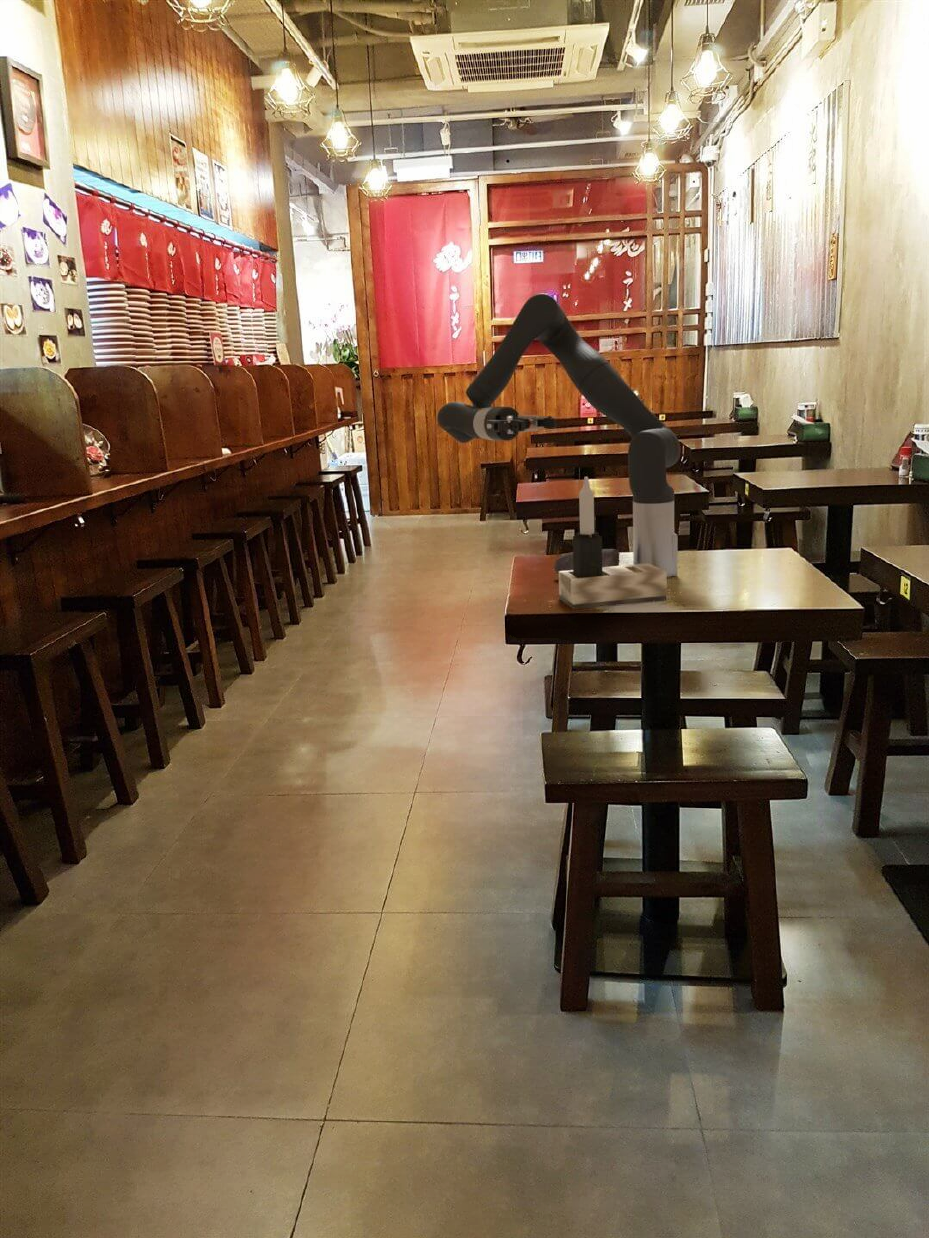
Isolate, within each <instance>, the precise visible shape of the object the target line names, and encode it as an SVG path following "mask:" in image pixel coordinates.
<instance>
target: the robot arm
mask: <svg viewBox="0 0 929 1238" xmlns="http://www.w3.org/2000/svg"><path fill="white" fill-rule="evenodd" d="M535 340H537V341H538V342H539V343H540V344H542V345H543V347H545V348H546V349H547V351H549V352H550V353H552V355H553V356H554V357H555V358H556V359H557V360H558V361H559V363H560V364H561V366H562V368H563V369H564V371H565V373H566V374H567V377H568V378H569V379H570V381H571V383H573V385H574V386H575V388H576V389H577V390H578V392H579V393H580V394H581V395H582V396H583V397H584V399H585V400H586V401H587V402H588V404H590V406H592V407H593V408H594V409H595V410H596V411H598V412H599V413H600V414H602V415H604V416H605V417H606V418H608V419H609V420H610V421H613V422H614V423H616V424H617V425H619V426H620V427H621V428H622V429H624V430H625V432H627V433H628V435H630V437H631V440H630V442H629V444H628V450H627V451H628V452H627V463H628V464H627V465H628V466H627V467H628V468H627V469H628V483H629V484H628V485H629V489H630V491H631V494H632V538H633V539H632V549H633V551H632V553H633V555H632V556H633V557H632V559H633V560H632V561H633V563H632V565H633V564H644V563H649V564H651V565H653V566H655V567H657V568H660V569H662V570H664V571H666V572H667V578H670V577H675V576H678V541H679V540H678V534H677V533H675V489H674V488H673V487H672V486H671V485H669V483H668V480H667V469H668V468H670V467H673V466H674V465H675V464H677V462H678V461H679V459H680V457H681V453H682V452H681V444H680V441H679V438H678V437H677V435H676V434H675V433H674V432H673V431H672V429H670V428H669V427H668V426H667V425H666V424H665V423H663V421H661V420H660V419H659V418H658V417H657V415H655V414H654V412H652V411H651V410H650V409H649V408H648V407H647V406H646V404H644V403H643V401H642V400H641V399H640V397H638V396H637V394H636V393H635V392H634V391H633V389H632V388H631V387H630V386H629V385H628V384H627V382H626V381H625V380H624V378H623V377H622V376H621V375H620V374H619V372H618V371H617V370H616V369H615V367H613V365H612V364H611V363H610V362H609V361H608V360H606V358H605V357H604V356H603V355H602V354H601V353H600V352H598V350H596V349H595V348H593V346H591V345H589V344H588V343H587V342H586V341H585V340H584V339H583V338H582V337H581V335H579V333H578V331H577V330H576V329H575V327H574V326H573V324H572V323H571V322H570V320H569V318H568V317H567V315H566V314H565V311H564V310H563V307H561V305H560V304H559V303H558V301H557V300H556V298H554V297H553V296H552V295H550V294H548V293H545V292H542V293H541V292H540V293H536V294H533V295H532V296H530V297H529V298H528V299H527V300H526V301H525V303H524V304H523V305H522V307H521V309H520V311H519V312H518V314H517V316H516V318H515V319H514V321H513V323H512V324H511V326H510V328H509V330H508V331H507V333H506V335H505V336H504V338H503V340H502V341H501V342H500V344H499V345H498V347H497V348H496V350H495V352H494V353H493V355H492V356H491V358H490V359H489V360H488V361H487V363H486V364H485V365H484V367H482V369H481V370H480V372H479V373H478V374H477V376H475V378H474V379H473V380H472V381H471V383H470V384H469V385H468V387H467V388H466V390H465V396H466V397H467V399H468V400H469V401H470V402H471V404H472V405H469V404H467V403H463V402H460V401H459V402H458V401H450V402H448V403H446V404H444V405H443V406H441V408H440V409H439V410H438V412H437V417H436V419H437V423H438V425H439V427H440V428H441V429H442V430H444V431H445V432H446V433H447V434H449V435H450V436H451V437H452V438H453V439H455V440H456V441H457V442H459V443H462V444H466V443H469V442H471V441H473V440H474V439H483V440H484V439H485V440H489V441H501V442H508V441H512V440H514V439H516V437H517V436H518V435H519V434H520V433H521V434H523V433H526V432H536V431H539V430H541V429H542V430H548V429H554V430H555V429H557V428H558V425H557V424H558V421H557V420H558V419H557V418H556V417H553V416H551V415H548V416H538V415H537V414H534V415H533V414H532V415H530V414H529V415H526V414H519V413H518V410H516V409H515V408H513V407H511V406H492V405H493V404H494V403H495V401H496V400H497V399H498V397H499V396H500V395H501V394H502V392H503V391H504V390H505V389H506V387H507V386H508V384H509V382H510V381H511V379H512V377H513V376H514V372H515V371H516V369H517V367H518V364H519V363H520V360H521V358H522V357H523V355H524V354H525V352H526V351H527V350H528V348H529V347H530V346H531V344H532V343H533V342H534V341H535ZM531 425H532V428H530V427H531Z"/></svg>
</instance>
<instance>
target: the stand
mask: <svg viewBox="0 0 929 1238" xmlns="http://www.w3.org/2000/svg"><path fill="white" fill-rule="evenodd" d="M667 578H668V577H667V572H666V571H664V570H662V569H660V568H657V567H655V566H653V565H651V564H649V563H644V564H633V563H632V564H625V565H622V564H621V565H619V566H611V567H602V576H597V577H587V578H577V577H575V576H574V574H573V570H566V571H559V574H558V599H559V600H560V601H562V602H563V603H564V604H566V605H567V606H569V607H570V608H571V609H572V610H581V609H580V608H582V609H591V608H590V607H592V608H601V607H610V606H612V607H613V606H621V604H623V605H631V604H641V603H650V602H651V603H654V602H661V601H663V602H664V601H667V600H668V599H667V597H668V596H667V593H668V592H667V589H668V588H667ZM653 601H654V602H653Z"/></svg>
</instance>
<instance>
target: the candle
mask: <svg viewBox="0 0 929 1238" xmlns="http://www.w3.org/2000/svg"><path fill="white" fill-rule="evenodd" d="M583 480H584V482H583V486H582V488H581V490H580V491H579V495H578V500H579V501H578V502H579V531H578V532H576V533H575V535H572V552H573V574H574V576H575V577H577V578H587V577H597V576H602V549H603V536H601V535H599V532H598V531H595V500H594V499H595V495H594V491H593V490H592V489H591V485H590V483H589V477H588V476H584V478H583Z"/></svg>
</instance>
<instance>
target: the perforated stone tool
mask: <svg viewBox="0 0 929 1238" xmlns="http://www.w3.org/2000/svg"><path fill="white" fill-rule="evenodd" d="M620 562H621V560H620V552H619V551H618V550H617V549H616V548H602V567H611V566H620ZM553 566H554V567H553V568H554V571H555V572H556V574H558V575H559V571H566V570H573V551H571V552H568V553H565V554H562V555H561V556H558V558H557V559H556V560H555V562H554V565H553Z"/></svg>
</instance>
